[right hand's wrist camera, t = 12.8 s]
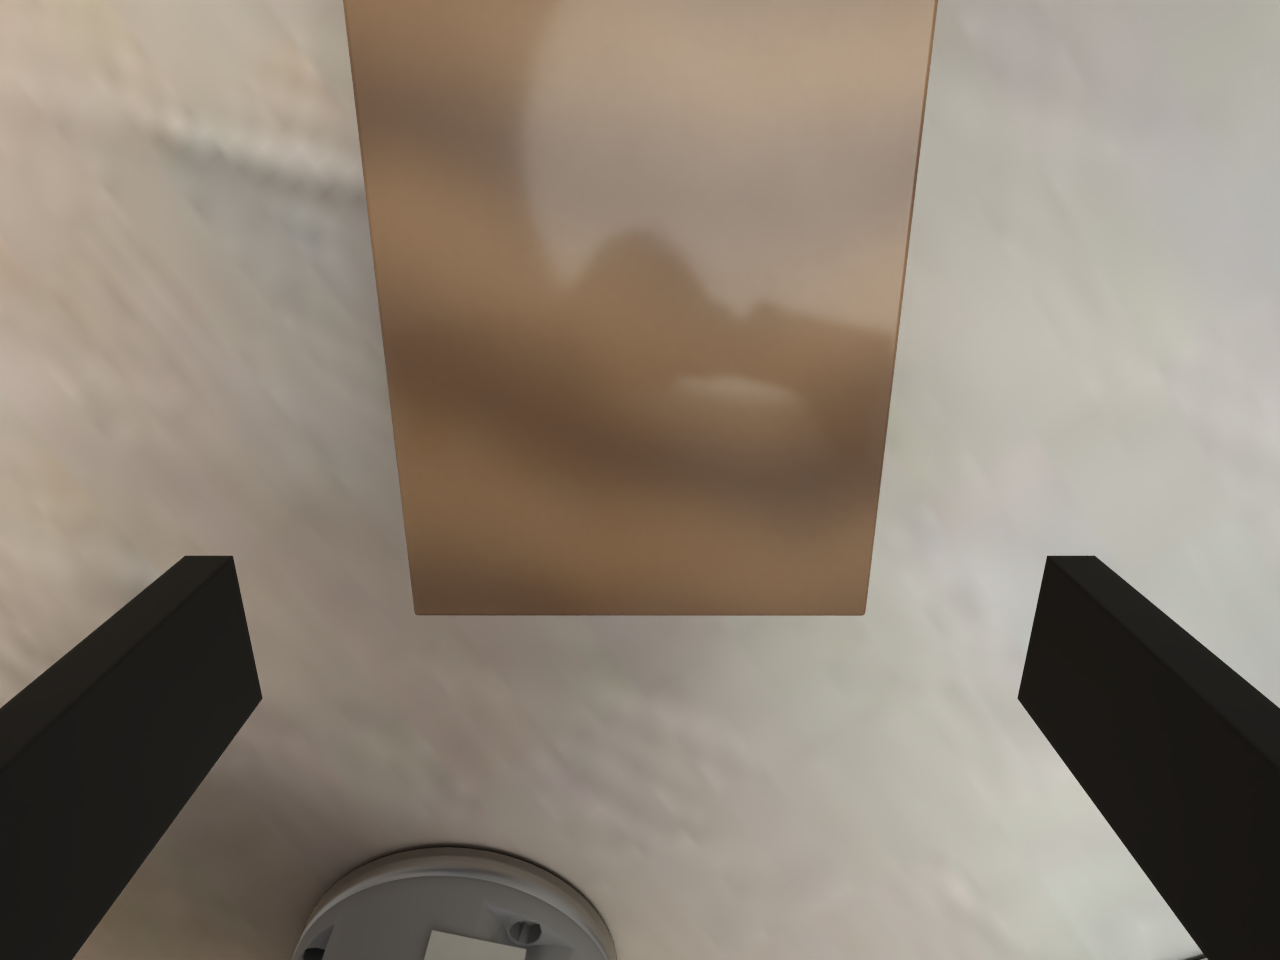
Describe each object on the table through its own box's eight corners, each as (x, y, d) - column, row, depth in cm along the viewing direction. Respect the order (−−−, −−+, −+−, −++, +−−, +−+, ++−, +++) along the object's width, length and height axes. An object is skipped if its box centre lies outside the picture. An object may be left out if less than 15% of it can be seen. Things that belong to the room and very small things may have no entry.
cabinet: (431, -258, 21) (271, -597, 12) (849, -258, 21) (1010, -595, 12) (486, 477, 29) (414, 616, 20) (793, 477, 29) (865, 616, 20)
